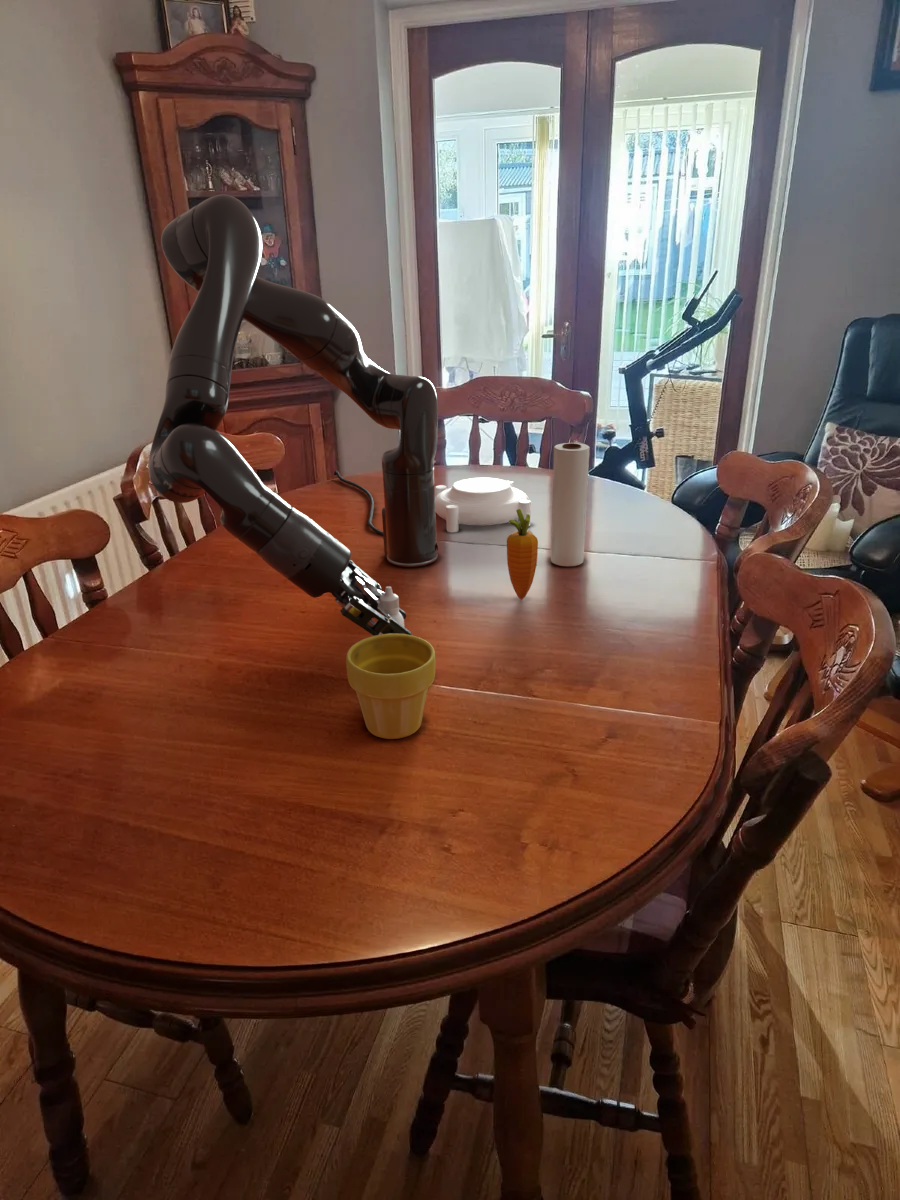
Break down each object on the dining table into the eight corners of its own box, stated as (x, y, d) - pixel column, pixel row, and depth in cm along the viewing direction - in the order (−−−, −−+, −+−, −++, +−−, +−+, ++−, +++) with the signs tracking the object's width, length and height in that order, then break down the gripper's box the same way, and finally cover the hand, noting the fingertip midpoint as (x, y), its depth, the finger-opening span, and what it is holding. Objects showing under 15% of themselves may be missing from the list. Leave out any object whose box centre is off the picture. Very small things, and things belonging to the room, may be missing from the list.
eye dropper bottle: (370, 678, 98) (364, 594, 94) (384, 658, 103) (379, 577, 98) (402, 682, 97) (398, 597, 93) (414, 661, 102) (411, 580, 97)
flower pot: (449, 708, 94) (447, 638, 90) (419, 755, 85) (415, 680, 81) (373, 695, 97) (368, 627, 93) (336, 740, 88) (329, 667, 84)
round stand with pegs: (467, 495, 179) (466, 465, 176) (557, 511, 166) (558, 479, 163) (403, 522, 161) (402, 490, 158) (498, 542, 148) (498, 507, 145)
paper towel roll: (568, 570, 134) (574, 451, 125) (543, 561, 138) (546, 445, 130) (594, 559, 139) (601, 444, 130) (569, 551, 143) (574, 438, 134)
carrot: (535, 606, 121) (537, 516, 114) (504, 604, 122) (504, 515, 115) (538, 594, 125) (540, 507, 119) (508, 592, 126) (508, 506, 120)
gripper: (284, 553, 99) (380, 627, 105) (281, 597, 86) (391, 677, 93) (322, 512, 97) (416, 589, 104) (324, 549, 84) (432, 634, 91)
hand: (404, 630), depth 98 cm, fingers closed on eye dropper bottle, 5 cm apart
